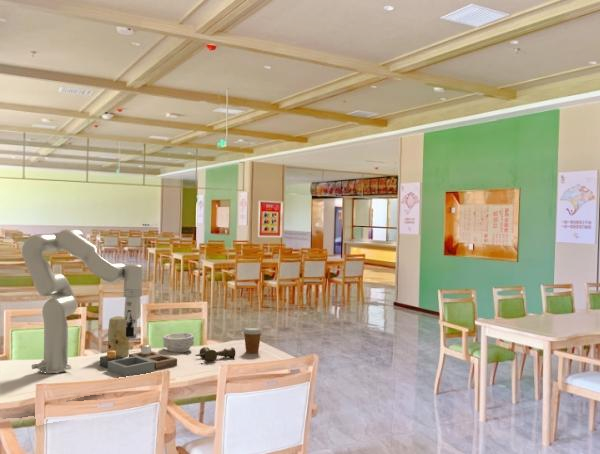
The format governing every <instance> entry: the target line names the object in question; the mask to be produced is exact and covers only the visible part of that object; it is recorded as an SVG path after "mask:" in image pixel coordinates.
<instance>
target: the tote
mask: <svg viewBox="0 0 600 454" xmlns="http://www.w3.org/2000/svg"><path fill="white" fill-rule="evenodd" d="M154 365H155V362H154V361H151V360H148V359H145V358H142V357H138V356H134V357H129V356H128V357H124V358H123V359H118V360H112V361H108V369H107V371H108V372H110V373H113V374H115V375H118V376H120V377H123V376H129V377H131V376H130V375H133V376H138V375H142V374H147V373H152V372H154V371H155V369H154Z"/></svg>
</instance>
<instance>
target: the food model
mask: <svg viewBox="0 0 600 454" xmlns="http://www.w3.org/2000/svg"><path fill="white" fill-rule="evenodd" d="M108 321H109V322H108V329H107V330H108V331H107V351H110V350H115V351H116V355H118V356H121V357H123V358H128V357H129V354H130V352H129V351H130V339H128V338H126V320H125V319H124V316H122V315H121V316H114V317H111V318H109V319H108Z"/></svg>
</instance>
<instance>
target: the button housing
mask: <svg viewBox="0 0 600 454" xmlns="http://www.w3.org/2000/svg"><path fill="white" fill-rule="evenodd" d="M118 359H123V357H121V356H118V355H116V358H111V359H109V358H107V355H103V356H102V355H101V356H100V357H99V367H101V368H105V369H106V370H108V361H112V360H118Z"/></svg>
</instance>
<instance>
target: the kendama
mask: <svg viewBox="0 0 600 454" xmlns="http://www.w3.org/2000/svg"><path fill="white" fill-rule="evenodd" d="M194 356H195V357H200V358H201V359H205V361H206V362H207V363H213V362H216V360H217V357H223V358H225V359H226V358H228V357H229V358H230V357H231V358H235V357H236V349H235V348H234V347H232V346H231V348H228V349H227V348H224V349H223V350H218V351H216V350H214V349H210V348H209V347H206V346H203V347H202V348H200V349H199V354H198V353H197V354H195V355H194Z"/></svg>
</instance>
